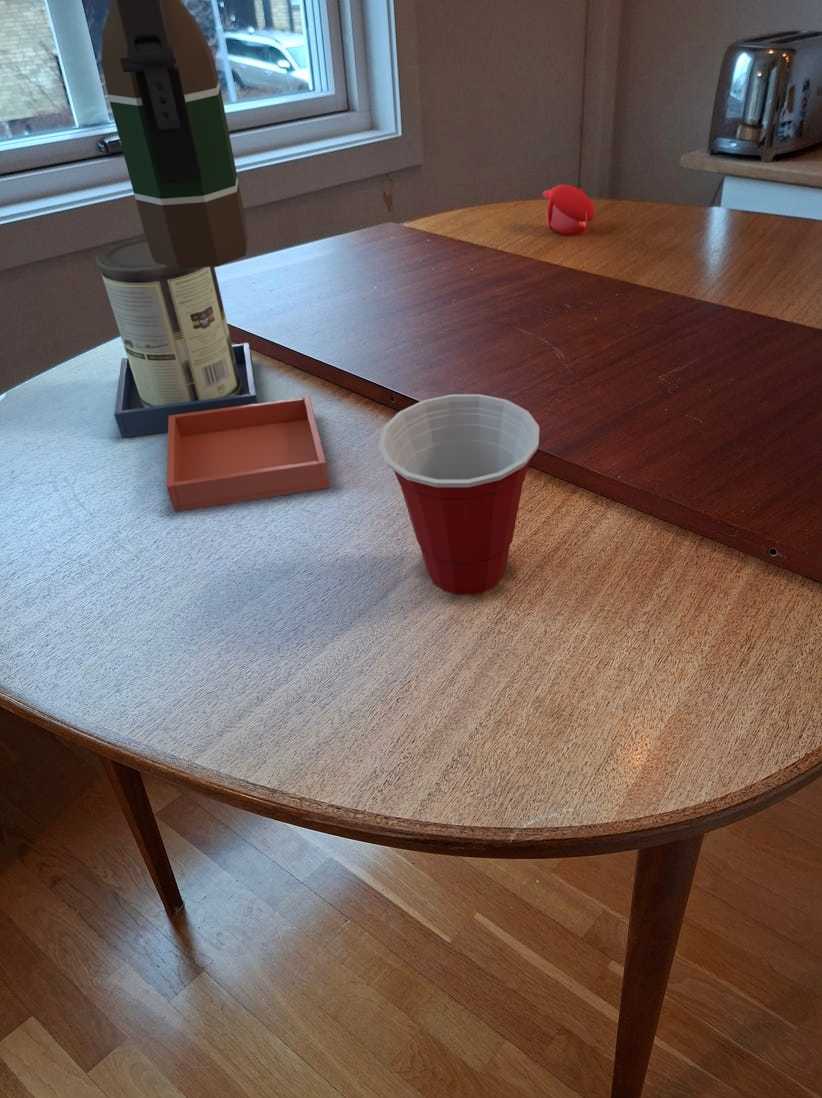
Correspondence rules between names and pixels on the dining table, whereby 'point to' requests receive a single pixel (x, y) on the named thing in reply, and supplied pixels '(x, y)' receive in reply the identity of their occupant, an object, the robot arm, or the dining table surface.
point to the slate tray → (156, 418)
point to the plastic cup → (462, 482)
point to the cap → (568, 209)
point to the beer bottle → (215, 201)
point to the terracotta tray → (244, 454)
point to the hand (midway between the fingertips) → (182, 165)
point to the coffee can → (169, 326)
